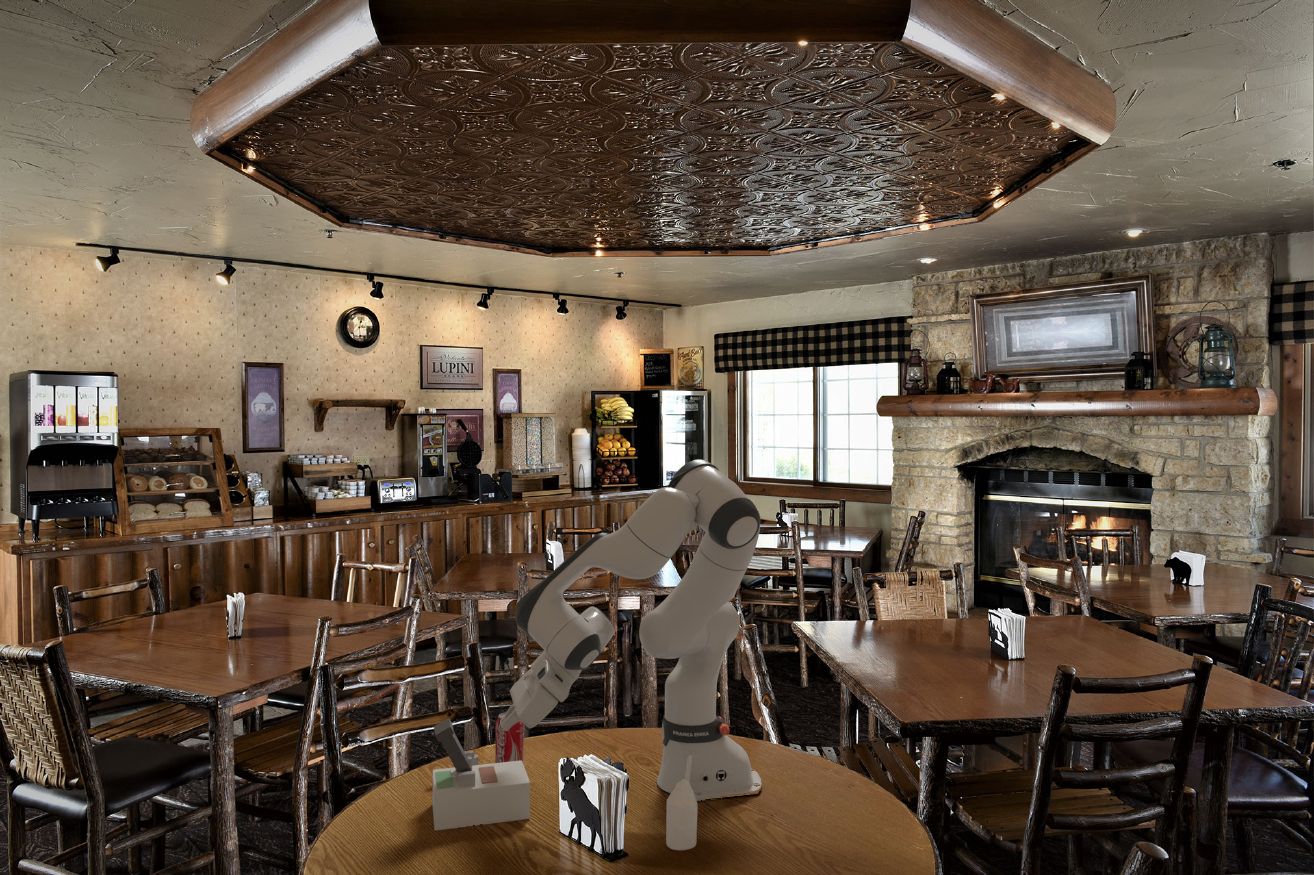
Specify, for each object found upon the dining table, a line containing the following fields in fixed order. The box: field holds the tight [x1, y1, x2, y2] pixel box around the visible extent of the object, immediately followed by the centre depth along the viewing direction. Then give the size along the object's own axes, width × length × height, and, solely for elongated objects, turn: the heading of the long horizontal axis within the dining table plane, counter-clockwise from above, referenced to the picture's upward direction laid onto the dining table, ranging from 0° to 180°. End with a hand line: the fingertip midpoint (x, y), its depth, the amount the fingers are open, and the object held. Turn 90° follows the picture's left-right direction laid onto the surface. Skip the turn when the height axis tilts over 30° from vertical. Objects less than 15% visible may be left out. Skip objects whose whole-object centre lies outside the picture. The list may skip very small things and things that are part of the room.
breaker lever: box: [433, 717, 472, 772], centre depth 163 cm, size 3×6×11 cm, turn 17°
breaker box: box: [431, 756, 531, 832], centre depth 165 cm, size 18×12×9 cm, turn 107°
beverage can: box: [494, 711, 525, 763], centre depth 187 cm, size 6×6×12 cm
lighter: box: [464, 750, 479, 766], centre depth 182 cm, size 7×2×8 cm, turn 99°
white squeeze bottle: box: [665, 779, 699, 851], centre depth 152 cm, size 6×12×6 cm
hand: (502, 727), depth 167 cm, fingers closed
